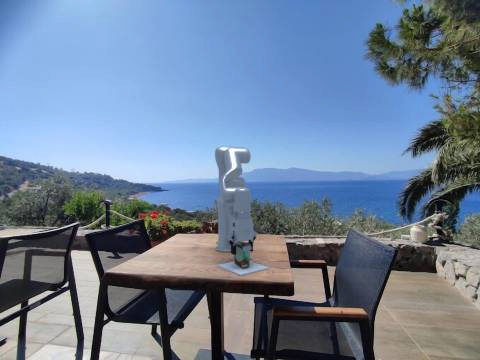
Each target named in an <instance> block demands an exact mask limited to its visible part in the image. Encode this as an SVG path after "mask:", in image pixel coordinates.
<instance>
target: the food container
mask: <svg viewBox="0 0 480 360" xmlns="http://www.w3.org/2000/svg"><path fill="white" fill-rule="evenodd" d="M235 246H236V255H233V260H234V261H233V262H234V263H235V264H236V265H237V266H238V267H240V268H241V269H245V268H248V267H249V261H250V256H251V251H250V250H251V249H252V248H251V245H250V243H248V241H241V242H237V243H236V245H235Z"/></svg>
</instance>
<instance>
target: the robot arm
mask: <svg viewBox="0 0 480 360" xmlns="http://www.w3.org/2000/svg"><path fill="white" fill-rule="evenodd" d="M251 157H252V156H251V151H250V150H249V148H246V147H244V146H219V147H217V148H215V151H214V158H215V162H216V165H217V169H218V189H219V193H220V194H219V195H220V196H218V198H217V199H216V207H217V222H218V223H217V226H218V227H217V228H218V231H217V232H218V234H217V235H218V237H217V239H218V241H216V242H215V244H216V245H217V246H216V247H215V250H216V251H217V252H221V253H222V252H223V253H230V254H231V255H233V256H234V255H236V246H235V245H236V243H237V242H247V243H250V245H251V248H252V249H251V250H250V253H253V252H254V243H255V241H256V238H257V235H258V232H257V231H255V229H254V223H253V222H254V221H253V218H252V217H251V210H252V209H251V208H252V207H251V206H252V205H251V202H252V199H251V197H252V196H251V194H252V193H251V189H250V188H247V184H246V180H245V178H243V177H241V176H242V174H243V173H244V171H243V166H242V164H249V163H250V161H251ZM232 212H233V213H232ZM231 213H232V214H231Z"/></svg>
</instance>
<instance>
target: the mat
mask: <svg viewBox="0 0 480 360" xmlns="http://www.w3.org/2000/svg"><path fill="white" fill-rule="evenodd" d="M216 267H218V268H220V269H223V270H226V271H228V272H229V273H232V274H235V275H238V276H240V277H243V276H247V275H250V274H255V273H258V272H263V271H266V270H269V269H270V267H269V266H266V265H262V264H260V263H256V262H253V261H250V260H249V267H248V268H245V269H241V268H240V267H238V266H237V265H236V264H235V263H234V261H229V262H225V263H221V264H220V263H219V264H217V265H216Z"/></svg>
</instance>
